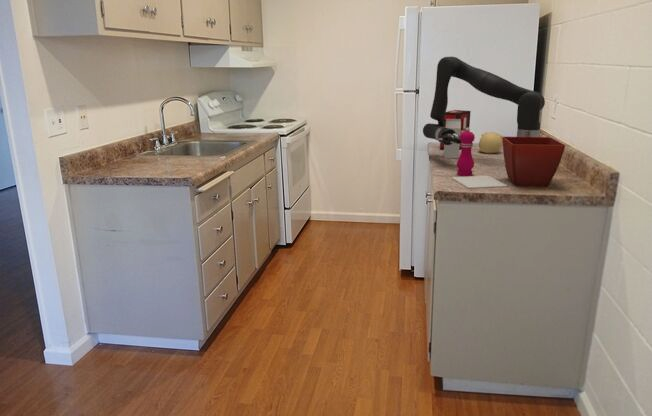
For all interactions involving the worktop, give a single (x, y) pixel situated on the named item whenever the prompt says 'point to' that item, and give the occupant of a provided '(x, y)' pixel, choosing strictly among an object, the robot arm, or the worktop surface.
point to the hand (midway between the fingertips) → (459, 141)
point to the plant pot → (531, 159)
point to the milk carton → (453, 149)
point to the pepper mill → (466, 154)
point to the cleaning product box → (458, 115)
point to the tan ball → (490, 142)
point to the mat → (478, 182)
